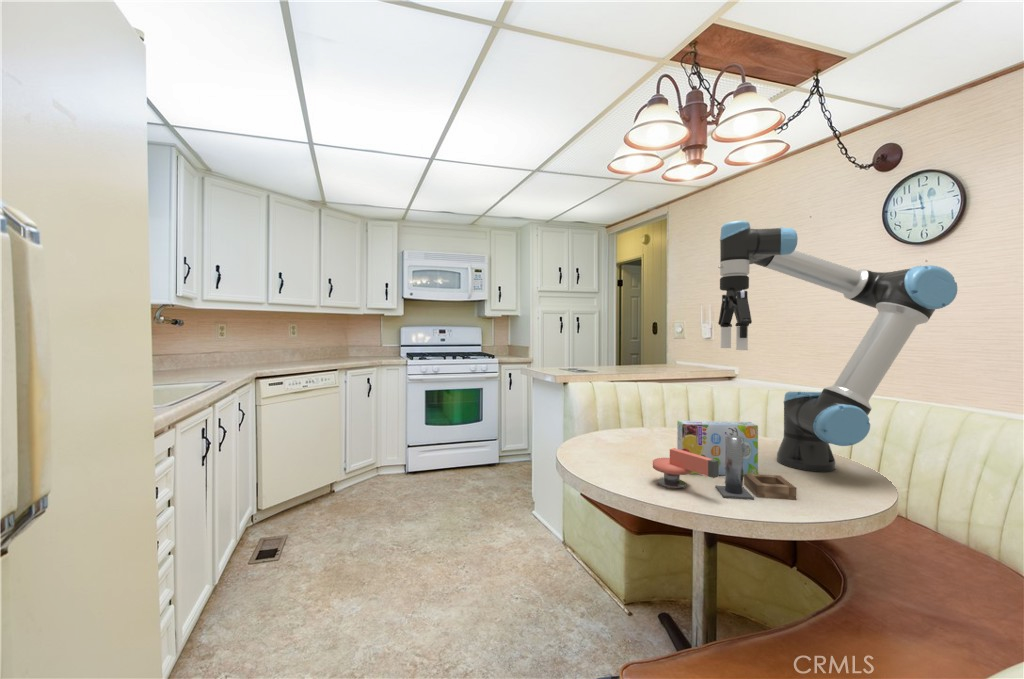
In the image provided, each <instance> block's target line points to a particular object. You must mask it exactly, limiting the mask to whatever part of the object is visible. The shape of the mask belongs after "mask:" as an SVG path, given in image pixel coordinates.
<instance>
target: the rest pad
mask: <svg viewBox="0 0 1024 679" xmlns="http://www.w3.org/2000/svg"><path fill="white" fill-rule="evenodd" d="M714 488H715V489H716V490H717V493H719V494H720V495H721V497H722V498H724V499H734V500H735V499H739V500H752V501H755V498H754V496H753V495H752V493H750V492H749V491H748V490H747V489H746V488H745V487H744V486H743V493H742V494H732V493H729V492H727V491H725V485H714Z"/></svg>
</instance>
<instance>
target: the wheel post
mask: <svg viewBox="0 0 1024 679" xmlns="http://www.w3.org/2000/svg"><path fill="white" fill-rule="evenodd" d="M680 476H681V475H673V474H666V473H663V477H660V478H659V479H658V480H657V481H658V482H657V483H658V485H659V486H661V487H664V488H666V489H670V490H671V489H672V490H680V489H684V488H686V482H685V481H683V480H682V479H681V477H680Z"/></svg>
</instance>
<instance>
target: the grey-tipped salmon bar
mask: <svg viewBox="0 0 1024 679" xmlns="http://www.w3.org/2000/svg"><path fill="white" fill-rule="evenodd" d="M652 468H653V470H655V471H657V472H660V473H662V474H664V473H666V474H673V475H680V476H682V475H685V476H686V475H690V474H689V473H691V472H692V471H693V472H696V473H699V474H698V475H702V476H703V475H704V476H705V477H709V478H712V479H715V478H719V476H720V475H719V461H718V460H714V459H711V458H707V457H704V456H700V455H697V454H693V453H690V452H686V451H683V450H679V449H677V447H675V448H674V447H673V448H669V457H657V458H654V459H653V460H652Z"/></svg>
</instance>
